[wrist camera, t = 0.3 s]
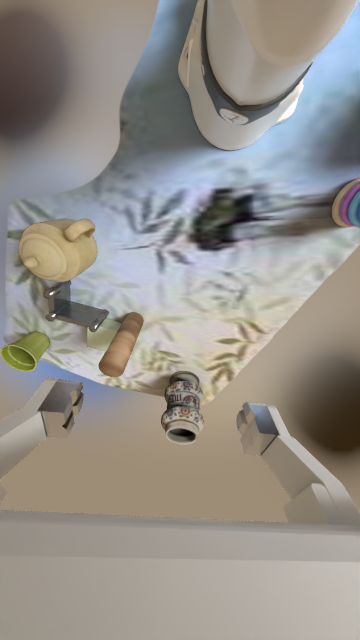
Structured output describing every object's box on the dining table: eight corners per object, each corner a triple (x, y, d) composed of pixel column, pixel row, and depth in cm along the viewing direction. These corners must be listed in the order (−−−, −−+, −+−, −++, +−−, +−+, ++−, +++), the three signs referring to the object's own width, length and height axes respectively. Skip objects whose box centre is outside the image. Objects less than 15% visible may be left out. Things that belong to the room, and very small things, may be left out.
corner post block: (63, 277, 49) (42, 290, 42) (111, 290, 50) (98, 305, 43) (64, 304, 53) (45, 320, 46) (108, 316, 54) (96, 333, 47)
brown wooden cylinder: (126, 310, 53) (99, 356, 38) (145, 315, 53) (125, 362, 38) (124, 324, 56) (98, 373, 40) (141, 329, 56) (122, 379, 41)
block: (94, 315, 54) (87, 323, 51) (122, 323, 55) (118, 331, 52) (93, 337, 59) (86, 346, 55) (119, 344, 59) (115, 353, 56)
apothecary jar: (164, 389, 69) (155, 444, 54) (170, 365, 63) (162, 419, 48) (197, 395, 70) (198, 451, 55) (207, 372, 63) (211, 428, 48)
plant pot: (18, 337, 60) (-6, 356, 53) (32, 321, 57) (8, 339, 49) (46, 355, 64) (26, 376, 57) (61, 341, 60) (42, 361, 53)
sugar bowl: (57, 187, 39) (-9, 183, 26) (110, 219, 41) (73, 230, 29) (44, 253, 46) (-13, 275, 33) (90, 277, 49) (53, 306, 36)
